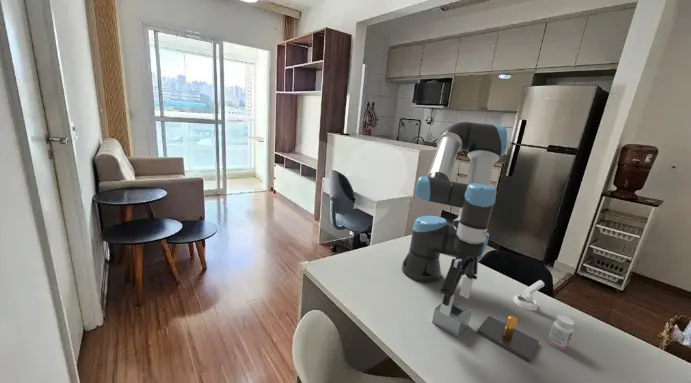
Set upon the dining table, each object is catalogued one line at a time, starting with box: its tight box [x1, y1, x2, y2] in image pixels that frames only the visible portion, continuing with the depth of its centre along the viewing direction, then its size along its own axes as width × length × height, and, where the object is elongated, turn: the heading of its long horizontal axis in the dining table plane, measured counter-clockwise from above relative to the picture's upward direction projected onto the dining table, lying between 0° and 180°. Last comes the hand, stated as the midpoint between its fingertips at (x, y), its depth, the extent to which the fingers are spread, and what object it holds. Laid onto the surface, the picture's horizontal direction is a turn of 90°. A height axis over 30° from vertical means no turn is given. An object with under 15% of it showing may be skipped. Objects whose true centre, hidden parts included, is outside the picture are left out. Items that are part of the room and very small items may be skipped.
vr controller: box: [512, 279, 545, 312], centre depth 104 cm, size 8×12×7 cm
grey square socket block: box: [431, 301, 472, 338], centre depth 89 cm, size 8×8×5 cm
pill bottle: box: [547, 314, 575, 351], centre depth 85 cm, size 5×5×8 cm
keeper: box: [476, 314, 540, 363], centre depth 86 cm, size 14×10×7 cm
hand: (454, 304), depth 88 cm, fingers open, 13 cm apart
